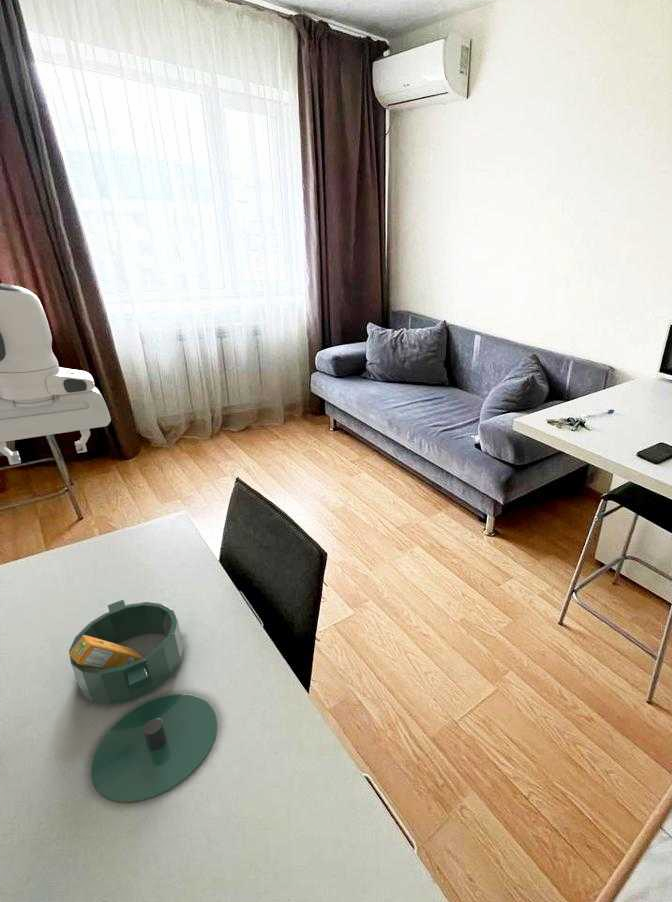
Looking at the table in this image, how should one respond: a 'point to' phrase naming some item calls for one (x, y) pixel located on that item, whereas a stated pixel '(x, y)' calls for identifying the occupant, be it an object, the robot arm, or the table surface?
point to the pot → (140, 673)
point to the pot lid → (154, 748)
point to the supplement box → (102, 653)
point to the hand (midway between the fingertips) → (49, 456)
